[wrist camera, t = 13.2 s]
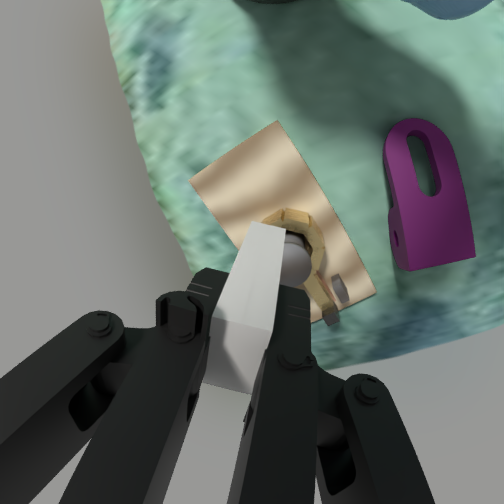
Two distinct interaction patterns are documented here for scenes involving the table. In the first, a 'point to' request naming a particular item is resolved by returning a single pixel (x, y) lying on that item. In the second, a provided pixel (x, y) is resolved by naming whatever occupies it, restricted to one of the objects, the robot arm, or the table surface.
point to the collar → (312, 232)
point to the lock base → (284, 196)
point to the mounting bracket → (426, 201)
